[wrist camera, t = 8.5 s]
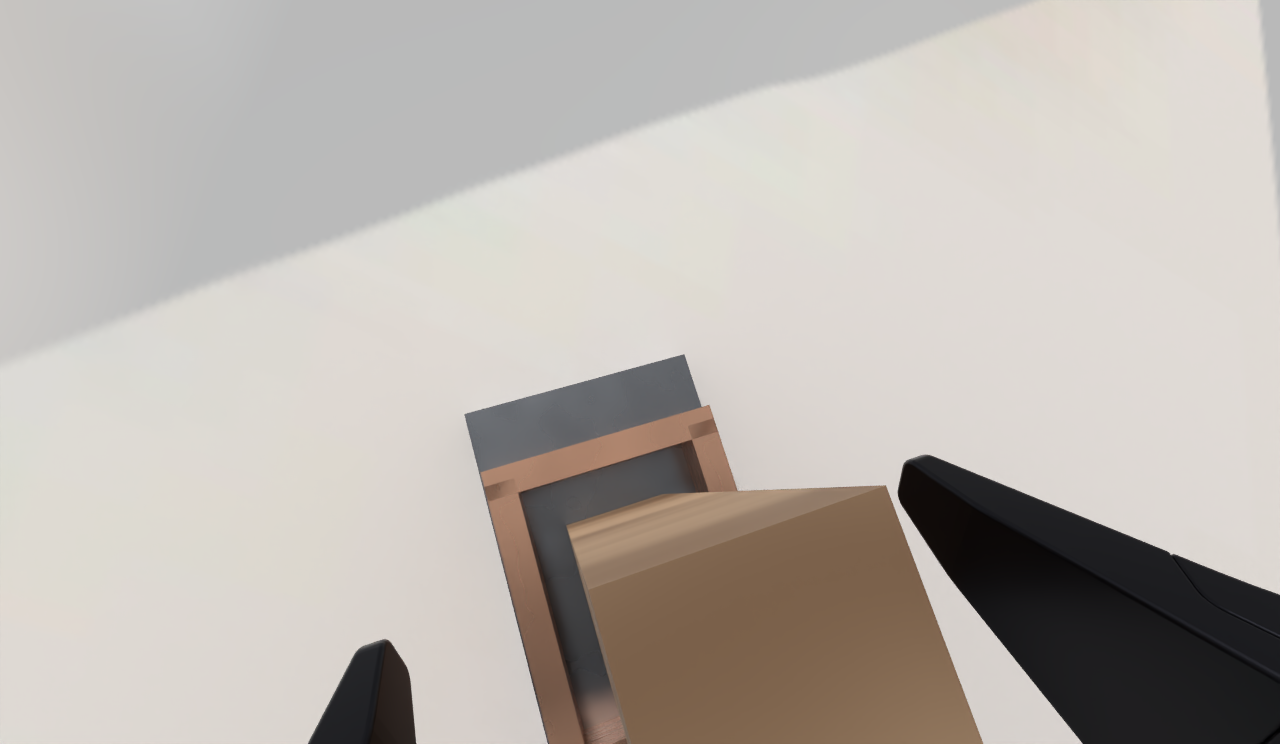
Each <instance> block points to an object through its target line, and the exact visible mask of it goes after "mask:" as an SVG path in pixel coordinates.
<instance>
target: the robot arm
mask: <svg viewBox="0 0 1280 744" xmlns="http://www.w3.org/2000/svg"><path fill="white" fill-rule="evenodd" d="M898 497H899V501H900V503H901V505H902V507H903V508H904V510H905V511H906V513H907V514H908V516H909V517H910V519H911V520H912V522H913V523H914V525H915V526H916V528H917V529H918V531H919V532H920V534H921V535H922V537H923V539H924V540H925V542H926V543H927V545H928V546H929V548H930V549H931V551H932V552H933V554H934V555H935V557H936V558H937V560H938V561H939V563H940V564H941V566H942V567H943V569H944V570H945V572H946V573H947V574H948V576H949V577H950V579H951V580H952V581H953V583H954V584H955V585H956V586H957V588H958V589H959V590H960V592H961V593H962V594H963V595H964V596H965V598H966V599H967V600H968V601H969V603H970V604H971V605H972V606H973V608H974V609H975V610H976V611H977V613H978V614H979V615H980V616H981V618H982V619H983V620H984V621H985V623H986V624H987V625H988V626H989V628H990V629H991V630H992V631H993V633H994V634H995V635H996V636H997V638H998V639H999V640H1000V641H1001V643H1002V644H1003V645H1004V646H1005V647H1006V649H1007V650H1008V651H1009V652H1010V654H1011V655H1012V656H1013V657H1014V659H1015V660H1016V661H1017V662H1018V664H1019V665H1020V666H1021V667H1022V669H1023V670H1024V671H1025V672H1026V674H1027V675H1028V676H1029V677H1030V679H1031V680H1032V681H1033V682H1034V684H1035V685H1036V686H1037V687H1038V689H1039V690H1040V691H1041V692H1042V693H1043V695H1044V696H1045V697H1046V698H1047V700H1048V701H1049V702H1050V703H1051V705H1052V706H1053V707H1054V708H1055V710H1056V711H1057V712H1058V713H1059V715H1060V716H1061V717H1062V718H1063V720H1064V721H1065V722H1066V723H1067V725H1068V726H1069V727H1070V728H1071V730H1072V731H1073V732H1074V733H1075V735H1076V736H1077V737H1078V738H1079V740H1080V741H1081V742H1082V743H1083V744H1280V595H1279V594H1276V593H1273V592H1271V591H1268V590H1265V589H1262V588H1260V587H1257V586H1254V585H1251V584H1248V583H1246V582H1243V581H1241V580H1238V579H1236V578H1233V577H1231V576H1228V575H1225V574H1223V573H1220V572H1218V571H1215V570H1213V569H1210V568H1207V567H1205V566H1202V565H1200V564H1197V563H1195V562H1193V561H1190V560H1188V559H1185V558H1183V557H1180V556H1178V555H1175V554H1172V555H1170V553H1169V552H1167V551H1165V550H1163V549H1160V548H1158V547H1155V546H1153V545H1150V544H1148V543H1145V542H1143V541H1140V540H1138V539H1136V538H1133V537H1131V536H1128V535H1126V534H1123V533H1121V532H1118V531H1116V530H1113V529H1111V528H1108V527H1106V526H1104V525H1101V524H1099V523H1096V522H1094V521H1091V520H1089V519H1086V518H1084V517H1081V516H1079V515H1076V514H1074V513H1072V512H1069V511H1067V510H1064V509H1062V508H1059V507H1057V506H1054V505H1052V504H1049V503H1047V502H1045V501H1042V500H1040V499H1037V498H1035V497H1032V496H1030V495H1027V494H1025V493H1022V492H1020V491H1017V490H1015V489H1013V488H1010V487H1008V486H1005V485H1003V484H1000V483H998V482H995V481H993V480H990V479H988V478H985V477H983V476H981V475H978V474H976V473H973V472H971V471H968V470H966V469H963V468H961V467H958V466H956V465H953V464H951V463H949V462H946V461H944V460H941V459H939V458H936V457H934V456H931V455H921V456H918V457H915V458H912V459H909V460H907V461H906V462H905V463H904V465H903V468H902V473H901V478H900V482H899V487H898ZM308 744H416V737H415V726H414V715H413V704H412V693H411V682H410V676H409V672H408V669H407V667H406V665H405V663H404V662H403V660H402V659H401V657H400V656H399V654H398V653H397V651H396V649H395V648H394V646H393V645H392V643H391V642H390V641H389V640H386V639H383V640H380V641H377V642H374V643H371V644H368V645H365V646H363V647H361V648H359V649H358V650H357V651H356V653H355V654H354V656H353V658H352V660H351V662H350V664H349V666H348V668H347V670H346V671H345V673H344V675H343V677H342V679H341V681H340V683H339V685H338V687H337V689H336V691H335V693H334V695H333V696H332V698H331V700H330V702H329V704H328V706H327V708H326V710H325V712H324V714H323V716H322V718H321V719H320V721H319V723H318V725H317V727H316V729H315V731H314V733H313V735H312V737H311V739H310V741H309V743H308Z"/></svg>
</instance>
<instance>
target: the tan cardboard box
mask: <svg viewBox="0 0 1280 744" xmlns="http://www.w3.org/2000/svg"><path fill="white" fill-rule="evenodd" d="M566 527H567V530H568V534H569V538H570V541H571V545H572V548H573V552H574V556H575V559H576V563H577V566H578V570H579V574H580V577H581V581H582V584H583V588H584V592H585V595H586V599H587V602H588V606H589V610H590V613H591V617H592V620H593V624H594V628H595V631H596V635H597V638H598V642H599V646H600V649H601V653H602V656H603V660H604V664H605V667H606V671H607V674H608V678H609V681H610V685H611V688H612V691H613V695H614V698H615V702H616V705H617V709H618V712H619V716H620V719H621V723H622V726H623V730H624V733H625V737H626V740H627V743H628V744H983V742H982V739H981V737H980V734H979V731H978V729H977V726H976V723H975V721H974V718H973V715H972V713H971V710H970V707H969V705H968V702H967V700H966V697H965V694H964V692H963V689H962V686H961V684H960V681H959V678H958V676H957V673H956V670H955V668H954V665H953V662H952V660H951V657H950V654H949V652H948V649H947V646H946V644H945V641H944V639H943V636H942V633H941V631H940V628H939V625H938V623H937V620H936V617H935V615H934V612H933V609H932V607H931V604H930V601H929V599H928V596H927V593H926V591H925V588H924V586H923V583H922V580H921V578H920V575H919V572H918V570H917V567H916V564H915V562H914V559H913V556H912V554H911V551H910V548H909V546H908V543H907V540H906V538H905V535H904V532H903V530H902V527H901V525H900V522H899V519H898V517H897V514H896V511H895V509H894V506H893V503H892V501H891V498H890V495H889V493H888V490H887V487H886V485H885V486H859V487H833V488H807V489H781V490H755V491H729V492H703V493H677V494H661V495H658V496H655V497H652V498H649V499H646V500H643V501H640V502H637V503H634V504H630V505H627V506H624V507H621V508H618V509H615V510H612V511H609V512H606V513H603V514H600V515H597V516H593V517H590V518H587V519H584V520H581V521H578V522H575V523H572V524H569V525H566Z"/></svg>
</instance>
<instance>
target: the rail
mask: <svg viewBox="0 0 1280 744" xmlns="http://www.w3.org/2000/svg"><path fill="white" fill-rule="evenodd" d="M465 418H466V422H467V426H468V430H469V434H470V438H471V442H472V446H473V450H474V454H475V458H476V462H477V466H478V470H479V474H480V478H481V482H482V485H483V489H484V493H485V497H486V501H487V505H488V509H489V513H490V517H491V521H492V525H493V529H494V533H495V537H496V541H497V545H498V549H499V553H500V557H501V561H502V564H503V568H504V572H505V576H506V580H507V584H508V588H509V592H510V596H511V600H512V604H513V608H514V612H515V616H516V620H517V624H518V628H519V632H520V636H521V639H522V643H523V647H524V651H525V655H526V659H527V663H528V667H529V671H530V675H531V679H532V683H533V687H534V691H535V695H536V699H537V703H538V707H539V711H540V714H541V718H542V722H543V726H544V730H545V734H546V738H547V742H548V744H628V743H627V740H626V737H625V733H624V730H623V726H622V723H621V719H620V716H619V712H618V709H617V705H616V702H615V698H614V695H613V691H612V688H611V685H610V681H609V678H608V674H607V671H606V667H605V664H604V660H603V656H602V653H601V649H600V646H599V642H598V638H597V635H596V631H595V628H594V624H593V620H592V617H591V613H590V610H589V606H588V602H587V599H586V595H585V592H584V588H583V584H582V581H581V577H580V574H579V570H578V566H577V563H576V559H575V556H574V552H573V548H572V545H571V541H570V538H569V534H568V530H567V527H566V525H569V524H572V523H575V522H578V521H581V520H584V519H587V518H590V517H593V516H597V515H600V514H603V513H606V512H609V511H612V510H615V509H618V508H621V507H624V506H627V505H630V504H634V503H637V502H640V501H643V500H646V499H649V498H652V497H655V496H658V495H661V494H677V493H703V492H729V491H737V488H736V485H735V482H734V479H733V476H732V472H731V469H730V466H729V463H728V460H727V457H726V454H725V451H724V448H723V445H722V442H721V439H720V436H719V433H718V430H717V427H716V424H715V421H714V418H713V415H712V412H711V409H710V406H709V405H707V406H704V407H701V404H700V401H699V398H698V395H697V392H696V389H695V386H694V383H693V380H692V377H691V374H690V370H689V367H688V364H687V361H686V358H685V355H680V356H676V357H673V358H669V359H665V360H662V361H658V362H654V363H651V364H647V365H643V366H640V367H636V368H632V369H629V370H625V371H621V372H618V373H614V374H610V375H607V376H603V377H599V378H596V379H592V380H588V381H585V382H581V383H577V384H574V385H570V386H566V387H563V388H559V389H555V390H552V391H548V392H544V393H541V394H537V395H533V396H530V397H526V398H522V399H519V400H515V401H511V402H508V403H504V404H500V405H497V406H493V407H489V408H486V409H482V410H478V411H475V412H471V413H467V414H465Z"/></svg>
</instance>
